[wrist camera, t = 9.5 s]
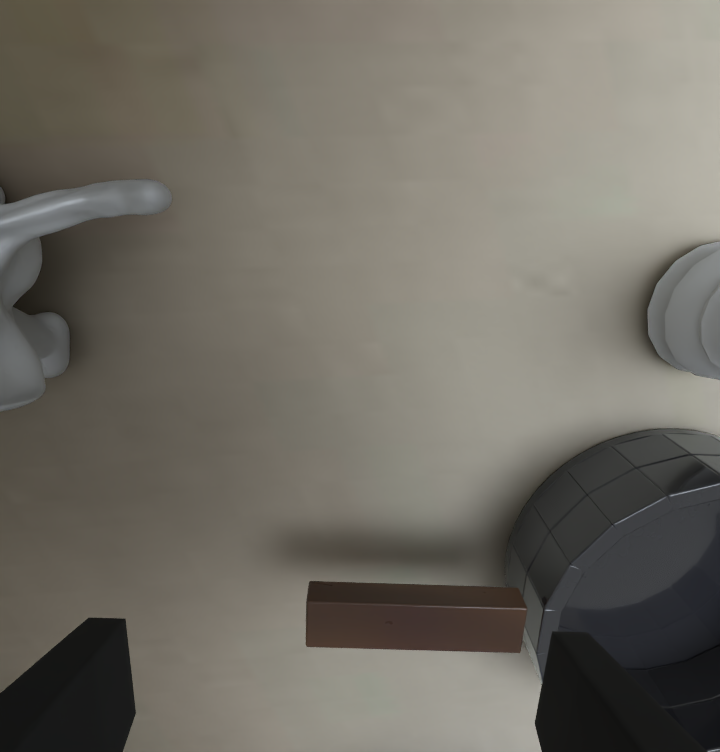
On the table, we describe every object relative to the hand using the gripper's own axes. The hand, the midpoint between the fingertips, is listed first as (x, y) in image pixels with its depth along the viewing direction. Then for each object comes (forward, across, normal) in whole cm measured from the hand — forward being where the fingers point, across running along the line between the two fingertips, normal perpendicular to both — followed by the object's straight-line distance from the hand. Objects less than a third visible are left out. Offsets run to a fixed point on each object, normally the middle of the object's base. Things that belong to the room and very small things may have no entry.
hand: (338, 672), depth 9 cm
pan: (+10, -12, +5) cm, 17 cm away
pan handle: (+7, -2, +5) cm, 9 cm away
